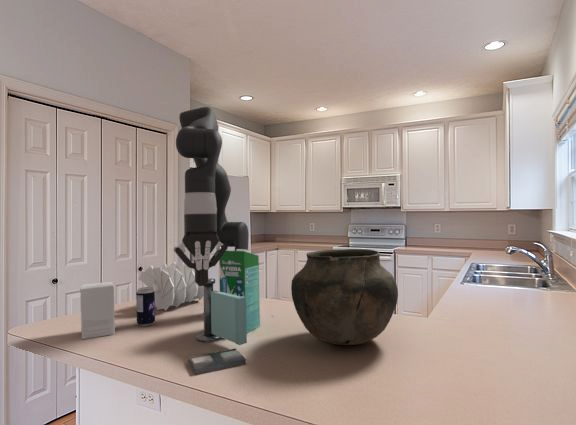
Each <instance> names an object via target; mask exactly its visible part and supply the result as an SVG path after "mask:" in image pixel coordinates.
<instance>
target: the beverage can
mask: <svg viewBox="0 0 576 425" xmlns="http://www.w3.org/2000/svg"><path fill="white" fill-rule="evenodd" d="M135 296H136V298H135V300H136V303H135V304H136V305H135V306H136V324H137V325H138V326H139V325H140V326H139V327H149V326H148V325H150V326H152V325H153V324H154V323H155V322H156V314H155V313H156V306H155V291H154V289H153V287H148V286H144V287H143V286H142V287H138V288H137V291H136V292H135Z"/></svg>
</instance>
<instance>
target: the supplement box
mask: <svg viewBox="0 0 576 425" xmlns="http://www.w3.org/2000/svg"><path fill="white" fill-rule="evenodd" d="M114 288H115V287H114V283H113V281H108V282H97V283H96V282H95V283H84V284H82V285H81V288H80V290H79V291H80V320H81V321H80V322H81V324H80V326H81V328H80V329H81V339H82V340H86V339H92V338H99V337H105V336H111V335H115V331H116V330H115V329H116V328H115V322H116V321H115V291H114V290H115V289H114Z"/></svg>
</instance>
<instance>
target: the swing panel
mask: <svg viewBox="0 0 576 425" xmlns="http://www.w3.org/2000/svg"><path fill="white" fill-rule="evenodd" d="M211 334H214V335H216V336H219V337H221V339H225V340H227V341H229V342H231V343H235V345H237V346H242V345H245V344H247V343H248V342H247V341H248V340H247V337H248V335H247V334H248V333H247V332H246V297H243V296H236V295H232V294H228V293H223V292H220V290H219V291H218V290H213V291H211Z"/></svg>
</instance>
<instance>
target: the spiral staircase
mask: <svg viewBox="0 0 576 425" xmlns="http://www.w3.org/2000/svg"><path fill="white" fill-rule="evenodd" d="M191 262H192V263H194V261H192V260H191ZM201 269H202V268H201ZM138 280H139V281H140V282H141V283H143V285H145V287H153V289H154V291H155V308H156V311H159V310H164V311H168V309H169V308H170V307H173V306H174V308H178V307H179V306H180V305H181V304H185V303H187V302H189V303H192V302H193V300H194V301H195V300H197V299H198V301H201V300H202V298H204V294H203V286H198V284H197V283H196V282H195V270H194V269H193V268H189V267H187V266H186V264H185V263H184V262H183V261H182V262H177V263H176V261H173V262H171V264H170V265H167V263H163V264H162V265H161V266H159V267H157V266H155V267H154V266H153V265H149V267H147V268H146V269H145V270H144V269H141V272H140V274H139V277H138Z"/></svg>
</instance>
